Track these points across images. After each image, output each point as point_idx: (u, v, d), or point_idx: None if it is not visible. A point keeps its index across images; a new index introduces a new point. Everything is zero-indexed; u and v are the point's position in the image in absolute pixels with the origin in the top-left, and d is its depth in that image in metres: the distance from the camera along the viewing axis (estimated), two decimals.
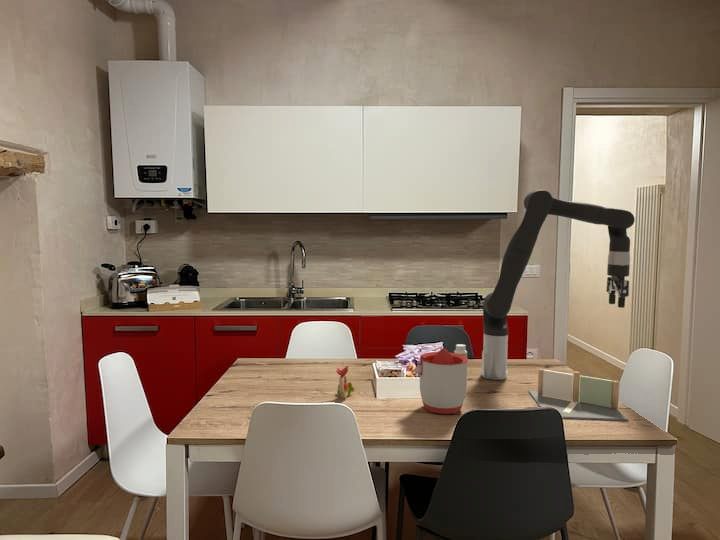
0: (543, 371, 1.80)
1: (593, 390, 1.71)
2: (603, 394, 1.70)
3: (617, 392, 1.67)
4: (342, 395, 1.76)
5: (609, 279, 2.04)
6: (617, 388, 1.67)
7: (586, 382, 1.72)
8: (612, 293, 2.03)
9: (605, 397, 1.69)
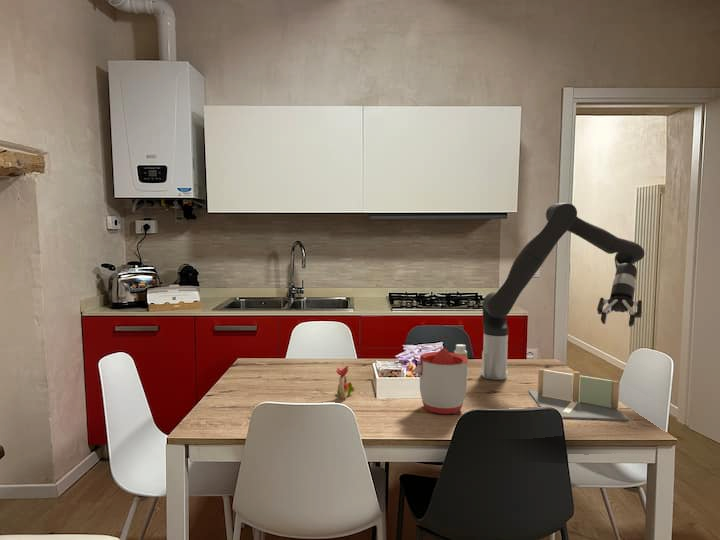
0: (543, 371, 1.80)
1: (593, 390, 1.71)
2: (603, 394, 1.70)
3: (617, 392, 1.67)
4: (342, 395, 1.76)
5: (603, 300, 1.92)
6: (617, 388, 1.67)
7: (586, 382, 1.72)
8: (605, 313, 1.89)
9: (605, 397, 1.69)
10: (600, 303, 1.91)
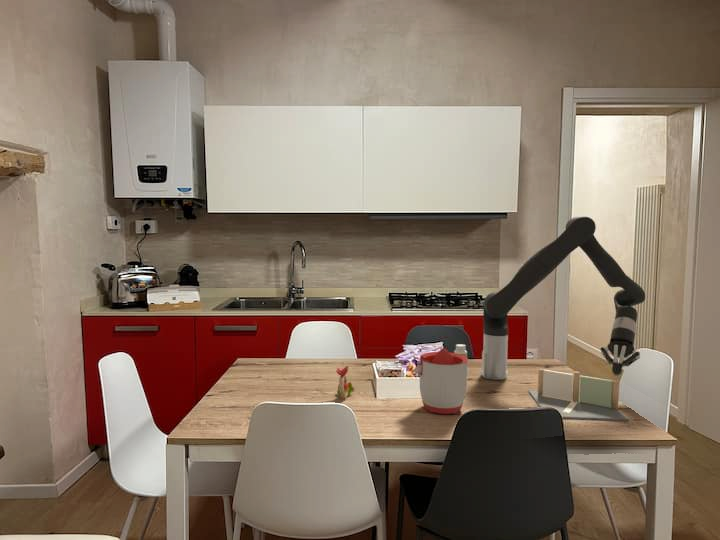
0: (543, 371, 1.80)
1: (593, 390, 1.71)
2: (603, 394, 1.70)
3: (617, 392, 1.67)
4: (342, 395, 1.76)
5: None
6: (617, 388, 1.67)
7: (586, 382, 1.72)
8: None
9: (605, 397, 1.69)
10: (605, 353, 1.82)
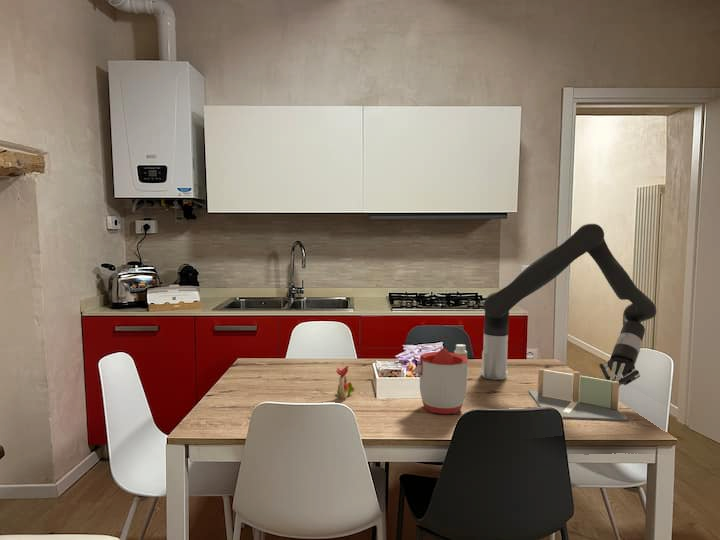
0: (543, 371, 1.80)
1: (593, 390, 1.71)
2: (603, 394, 1.69)
3: (616, 392, 1.67)
4: (342, 395, 1.76)
5: (603, 365, 1.76)
6: (617, 389, 1.66)
7: (586, 382, 1.72)
8: (614, 380, 1.72)
9: (605, 398, 1.69)
10: (603, 370, 1.75)
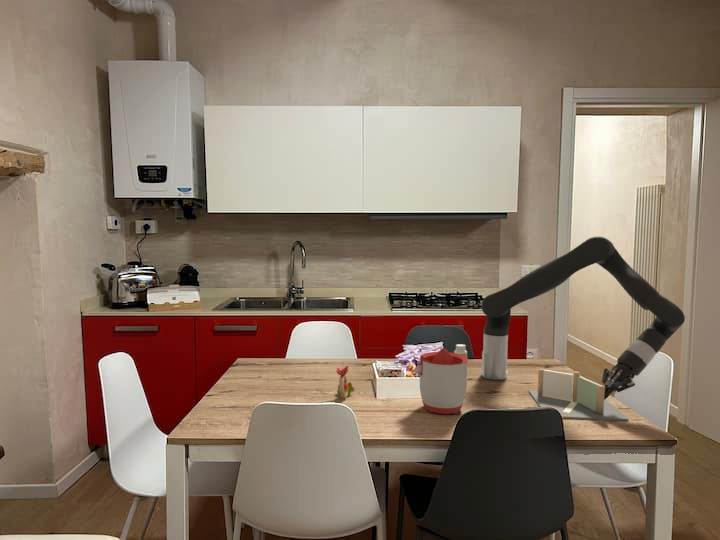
0: (543, 371, 1.80)
1: (585, 392, 1.69)
2: (591, 397, 1.66)
3: (600, 397, 1.62)
4: (342, 395, 1.76)
5: (607, 370, 1.70)
6: (600, 393, 1.62)
7: (581, 383, 1.71)
8: None
9: (593, 401, 1.66)
10: (604, 374, 1.69)
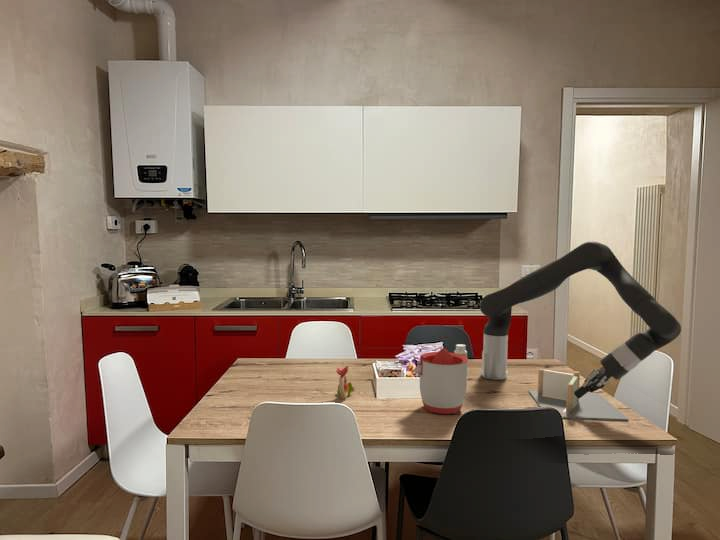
0: (543, 371, 1.80)
1: None
2: None
3: (567, 394, 1.64)
4: (342, 395, 1.76)
5: None
6: (567, 391, 1.64)
7: None
8: None
9: None
10: (590, 375, 1.67)
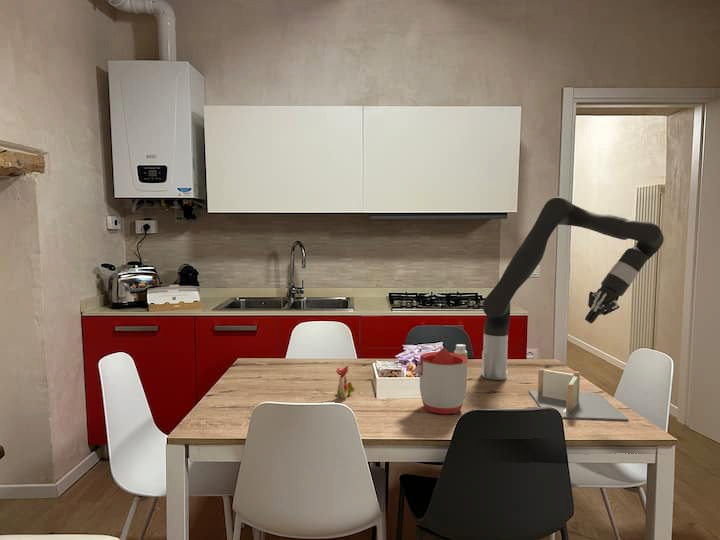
0: (543, 371, 1.80)
1: None
2: None
3: (567, 394, 1.64)
4: (342, 395, 1.76)
5: (592, 293, 1.76)
6: (567, 391, 1.64)
7: None
8: None
9: None
10: (590, 298, 1.75)
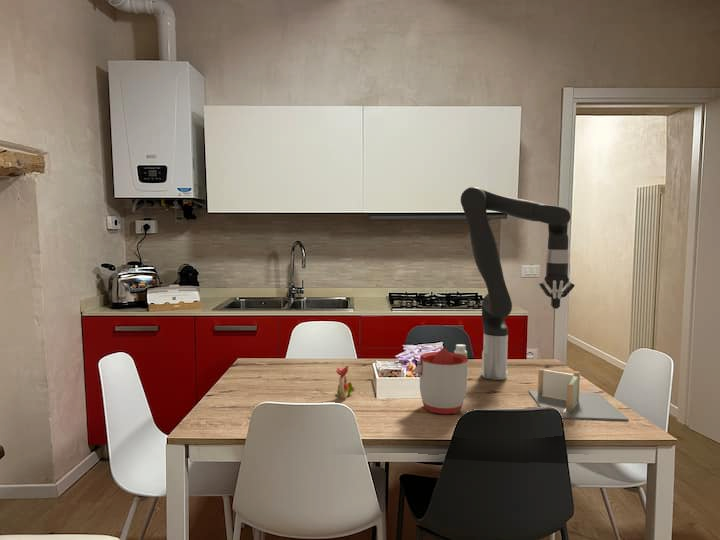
0: (543, 371, 1.80)
1: None
2: None
3: (567, 394, 1.64)
4: (342, 395, 1.76)
5: None
6: (567, 391, 1.64)
7: None
8: None
9: None
10: (545, 289, 1.91)
